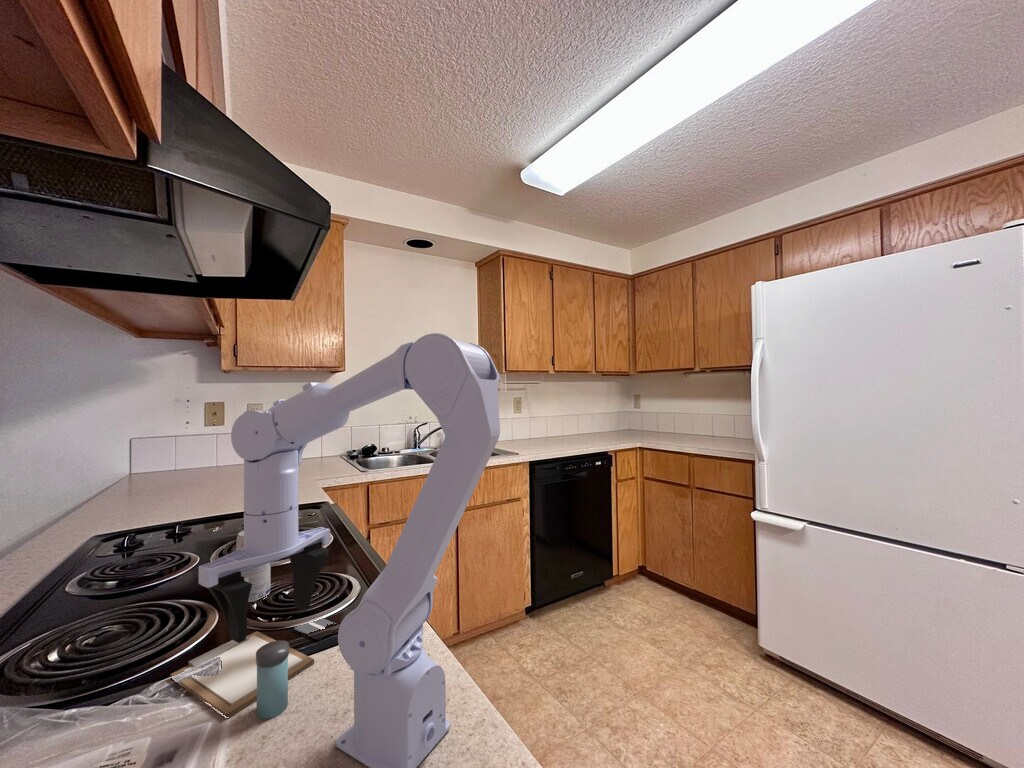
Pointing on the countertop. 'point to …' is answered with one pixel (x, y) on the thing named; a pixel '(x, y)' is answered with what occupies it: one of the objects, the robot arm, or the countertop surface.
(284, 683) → the tumbler
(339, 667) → the countertop surface
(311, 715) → the countertop surface
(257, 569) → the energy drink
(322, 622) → the plate
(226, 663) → the clipboard
